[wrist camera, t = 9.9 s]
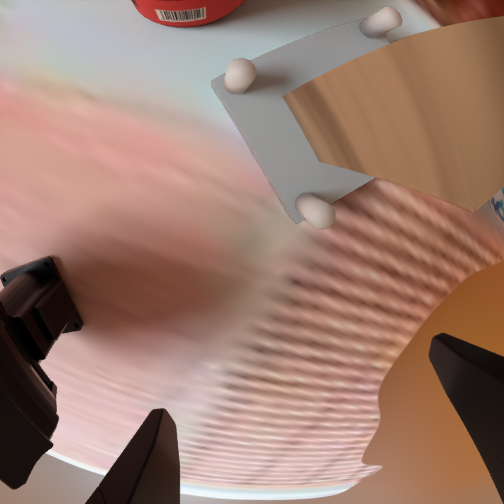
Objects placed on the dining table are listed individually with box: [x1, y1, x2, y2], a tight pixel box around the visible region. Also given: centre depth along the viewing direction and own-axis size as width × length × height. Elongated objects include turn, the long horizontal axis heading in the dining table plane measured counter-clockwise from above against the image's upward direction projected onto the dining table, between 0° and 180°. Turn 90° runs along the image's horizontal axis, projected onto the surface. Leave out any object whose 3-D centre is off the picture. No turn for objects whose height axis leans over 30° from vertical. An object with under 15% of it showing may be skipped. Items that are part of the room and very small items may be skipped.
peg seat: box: [212, 7, 402, 229], centre depth 15 cm, size 12×10×5 cm
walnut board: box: [282, 16, 504, 213], centre depth 10 cm, size 6×4×12 cm
